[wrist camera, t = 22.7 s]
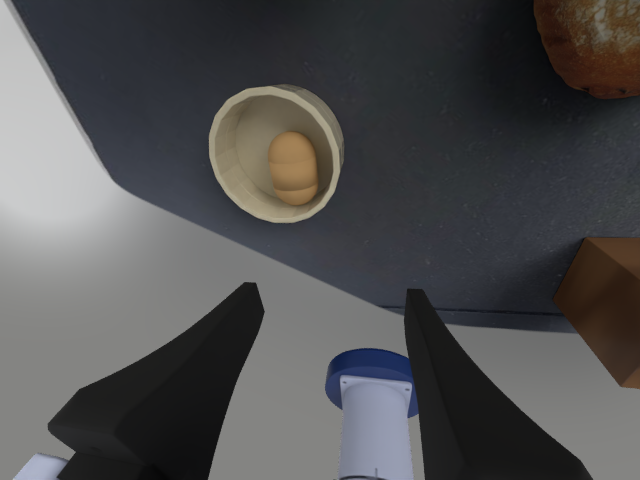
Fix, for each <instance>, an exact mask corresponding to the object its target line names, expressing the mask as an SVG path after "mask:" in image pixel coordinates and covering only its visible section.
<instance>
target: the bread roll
mask: <svg viewBox="0 0 640 480" xmlns="http://www.w3.org/2000/svg"><path fill="white" fill-rule="evenodd" d="M534 16H535V18H536V21H537V30H538V32H539V33H540V35H541V39H542V44H543V46H544V48H545V50H546V52H547V55H548V57H549V60H550V62H551V64H552V66H553V68H554V70H555V72H556V73H557V74H558V75H560V76H561V77H562V79H563V80H564V81H565V83H566V84H567V85H569V86H570V87H573V88H575V89H578V90H583V91H586V92H588V93H589V94H591V95H592V96H594V97H596V98H600V99H608V98H625V97H629V96H636V95H640V0H534Z"/></svg>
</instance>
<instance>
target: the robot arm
mask: <svg viewBox="0 0 640 480" xmlns="http://www.w3.org/2000/svg"><path fill="white" fill-rule="evenodd" d="M264 312H265V311H264V308H263V305H262V301H261V298H260V295H259V291H258V288H257V284H256V283H251V282H250V283H249V282H244V283H243V284H242V285H241V286H240V287H238V288H237V289H236V290H235V291H234V292H233V293H231V294H230V295H229V296H228V297H227V298H226V299H225V300H223V301H222V302H221V303H220V304H219V305H218V306H217V307H215V308H214V309H213V310H212V311H211V312H209V313H208V314H207V315H206V316H204V317H203V318H202V319H201V320H199V321H198V322H197V323H195V324H194V325H193V326H192V327H190V328H189V329H188V330H186V331H185V332H184V333H182V334H181V335H179V336H178V337H176V338H175V339H173V340H172V341H170V342H169V343H167V344H166V345H164V346H162V347H161V348H159V349H157V350H156V351H154V352H152V353H151V354H149V355H148V356H146V357H144V358H142V359H140V360H139V361H137V362H135V363H133V364H131V365H129V366H127V367H126V368H123V369H122V370H120V371H118V372H116V373H114V374H112V375H110V376H108V377H105V378H103V379H101V380H99V381H97V382H95V383H92V384H90V385H88V386H86V387H83V388H81V389H79V390H78V391H77V392H76V394H75V395H74V396H73V397H72V398H71V399H70V400H69V401H68V402H67V404H65V406H64V407H63V408H62V409H61V410H60V411H59V412H58V413H57V414H56V415H55V416H54V417H53V419H52V420H51V421H50V422H49V423H48V430H49V431H50V433H51V434H52V435H54V436H55V437H56V438H57V439H59V440H60V441H62V442H63V443H64V444H66V445H67V446H69V447H70V448H71V449H73V450H74V451H76V453H75V454H74V455H73V457H72V458H71V459H70V460H69V461H68V460H66V459H64V458H60V457H56V456H51V455H46V454H42V453H37V454H35V455H34V456H33V457H32V458H31V459H30V461H28V463H27V464H26V465H25V466H24V467H23V468H22V469H21V471H20V472H19V473H18V474H17V475H16V476H15V477H14V479H13V480H208V477H209V473H210V468H211V465H212V461H213V456H214V453H215V449H216V445H217V442H218V438H219V435H220V432H221V428H222V425H223V421H224V418H225V415H226V412H227V409H228V405H229V402H230V399H231V396H232V394H233V390H234V387H235V385H236V382H237V379H238V377H239V374H240V372H241V370H242V367H243V366H244V363H245V361H246V359H247V356H248V354H249V352H250V350H251V348H252V345H253V343H254V341H255V339H256V336H257V334H258V332H259V329H260V326H261V323H262V319H263V315H264ZM404 325H405V338H406V345H407V350H408V356H409V361H410V366H411V371H412V376H413V381H414V386H415V391H416V397H417V404H418V412H419V422H420V431H421V442H422V451H423V463H424V473H425V480H593V478H592V477H591V476H590V474H589V473H588V471H587V470H586V468H585V466H584V465H583V463H582V462H581V461H580V460H579V459H578V458H577V457H576V456H574V455H573V454H572V453H571V452H570V451H568V450H567V449H566V448H564V447H563V446H562V445H561V444H560V443H559V442H557V441H556V440H555V439H554V438H552V437H551V436H550V435H549V434H547V433H546V432H545V431H544V430H543V429H542V428H540V427H539V426H538V425H537V424H536V423H535V422H534V421H532V419H530V418H529V417H528V416H527V415H526V414H525V413H524V412H522V411H521V410H520V409H519V408H518V407H517V406H516V405H515V404H514V403H513V402H512V401H511V400H510V399H509V398H508V397H507V396H506V395H505V394H504V393H503V392H502V391H501V390H500V389H499V388H498V387H497V386H496V385H495V384H494V383H493V382H492V381H491V380H490V379H489V378H488V377H487V376H486V375H485V374H484V373H483V372H482V371H481V370H480V369H479V367H478V366H477V365H476V364H475V363H474V362H473V361H472V359H471V358H470V357H469V356H468V355H467V354H466V352H465V351H464V350H463V349H462V347H461V346H460V345H459V344H458V342H457V341H456V340H455V338H454V337H453V336H452V334H451V333H450V332H449V330H448V329H447V327H446V326H445V324H444V323H443V322H442V320H441V319H440V317H439V316H438V314H437V313H436V311H435V309H434V308H433V306H432V305H431V303H430V301H429V299H428V298H427V296H426V294H425V292H424V291H423V290H422V289H407V297H406V306H405V316H404ZM340 386H341V397H342V408H343V420H342V432H341V445H340V456H339V468H338V480H414V478H413V468H412V458H411V449H410V439H409V429H408V420H407V414H408V408H409V403H410V397H411V391H412V384H411V383H410V382H407V381H397V380H388V379H379V378H370V377H360V376H351V375H341V376H340ZM334 480H335V479H334Z"/></svg>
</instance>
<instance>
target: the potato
mask: <svg viewBox="0 0 640 480" xmlns="http://www.w3.org/2000/svg"><path fill="white" fill-rule="evenodd" d="M268 162H269V167H270V172H271V177H272V183H273V187H274V191H275V193H276V194H277V196H278V197H279V198H280V199H281V200H282V201H283V202H285V203H287V204H290V205H302V204H305V203H307V202H309V201H310V200H311V199H312V198H313V197H314V196H315V194H316V192H317V189H318V171H317V161H316V152H315V148H314V146H313V144H312V142H311V141H310V140H309V139H308V138H307V136H305V135H304V134H302V133H299V132H297V131H285V132H283V133H280V134H279V135H277V136H276V137H275V138H274V139H273V140H272V142H271V144H270V146H269V149H268Z"/></svg>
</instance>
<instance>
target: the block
mask: <svg viewBox="0 0 640 480" xmlns="http://www.w3.org/2000/svg"><path fill="white" fill-rule="evenodd" d="M553 301H554V303H555V304H556V305H557V307H558V308H559V309H560V310H561V312H562V313H563V314H564V315H565V317H566V318H567V319H568V321H569V322H570V323H571V324H572V326H573V327H574V328H575V329H576V331H577V332H578V333H579V335H580V336H581V337H582V338H583V340H584V341H585V342H586V343H587V345H588V346H589V347H590V349H591V350H592V351H593V352H594V354H595V355H596V356H597V357H598V359H599V360H600V361H601V363H602V364H603V365H604V366H605V368H606V369H607V370H608V371H609V373H610V374H611V375H612V377H613V378H614V379H615V380H616V382H617V383H618V384H619V385H620V386H621V387H626V388H637V389H640V238H602V237H586V238H585V239H584V241H583V243H582V245H581V247H580V249H579V250H578V252H577V254H576V256H575V258H574V260H573V262H572V264H571V266H570V268H569V269H568V271H567V273H566V275H565V277H564V279H563V281H562V283H561V285H560V287H559V288H558V290H557V292H556V294H555V296H554V298H553Z"/></svg>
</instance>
